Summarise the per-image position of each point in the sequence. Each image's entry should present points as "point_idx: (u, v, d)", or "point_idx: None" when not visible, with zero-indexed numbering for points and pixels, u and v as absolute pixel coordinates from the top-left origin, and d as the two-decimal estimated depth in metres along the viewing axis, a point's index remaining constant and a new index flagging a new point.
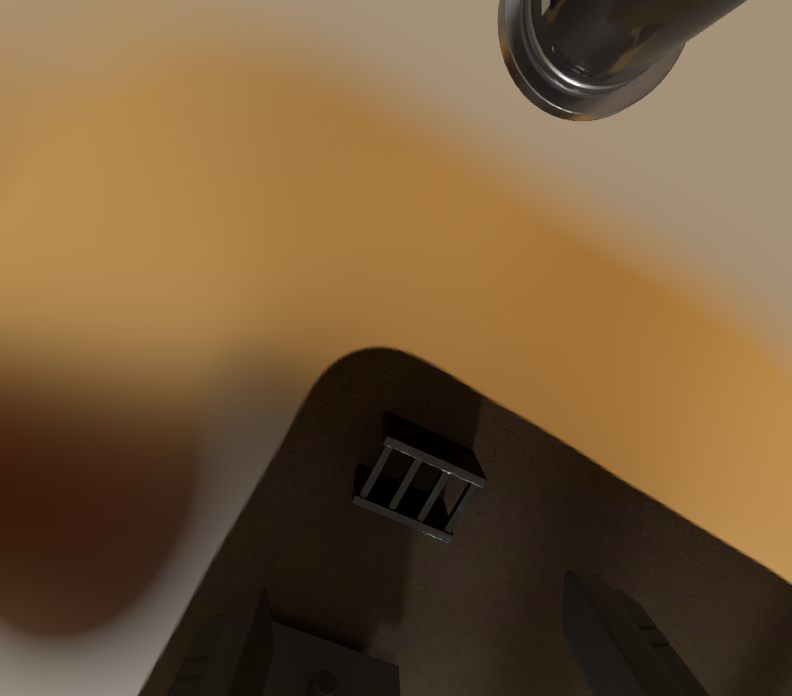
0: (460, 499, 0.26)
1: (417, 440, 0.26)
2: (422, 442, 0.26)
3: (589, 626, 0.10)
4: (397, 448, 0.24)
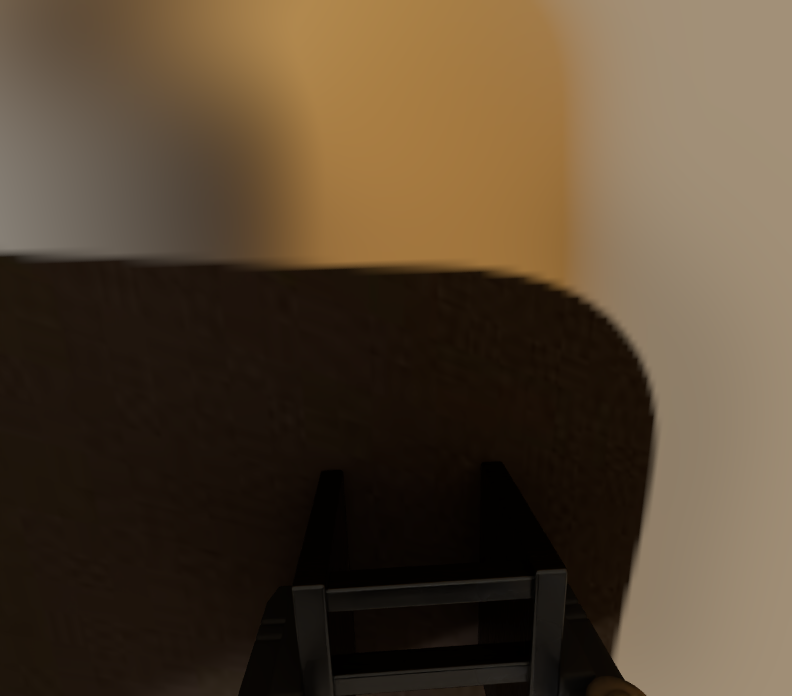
0: None
1: None
2: None
3: None
4: (542, 615, 0.07)
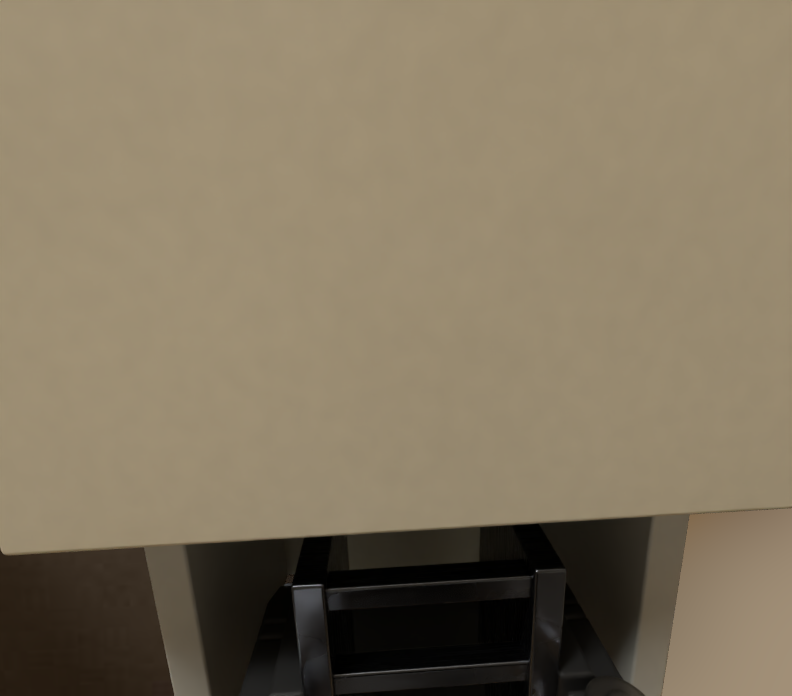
0: None
1: None
2: None
3: None
4: (541, 614, 0.07)
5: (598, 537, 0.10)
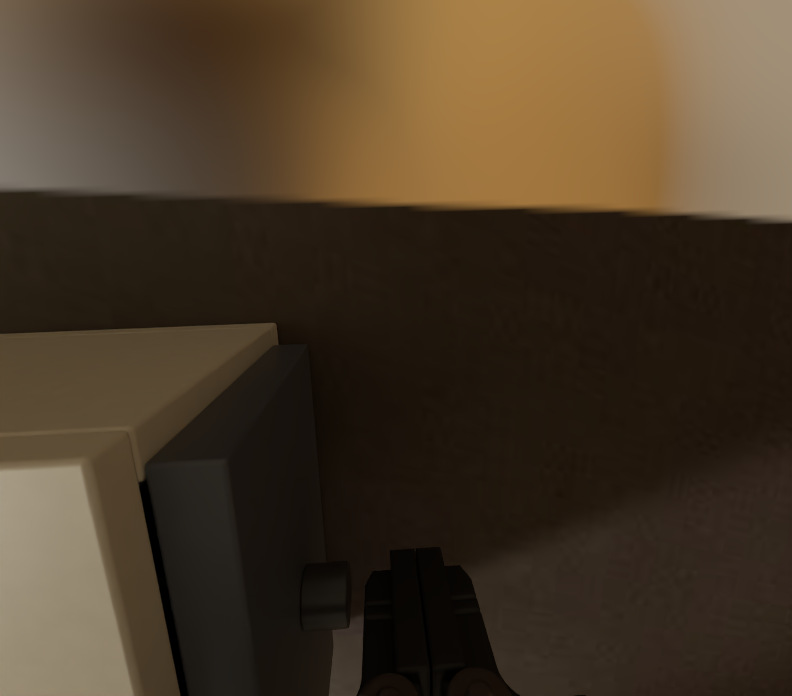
0: None
1: None
2: None
3: (420, 597, 0.11)
4: None
5: None
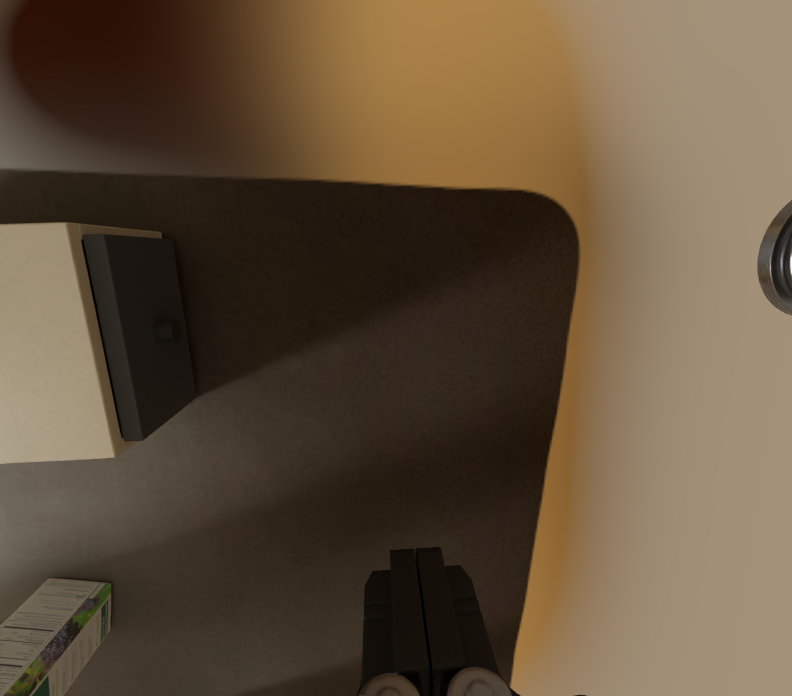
0: None
1: None
2: None
3: (420, 597, 0.11)
4: None
5: None
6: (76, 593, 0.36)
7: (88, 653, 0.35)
